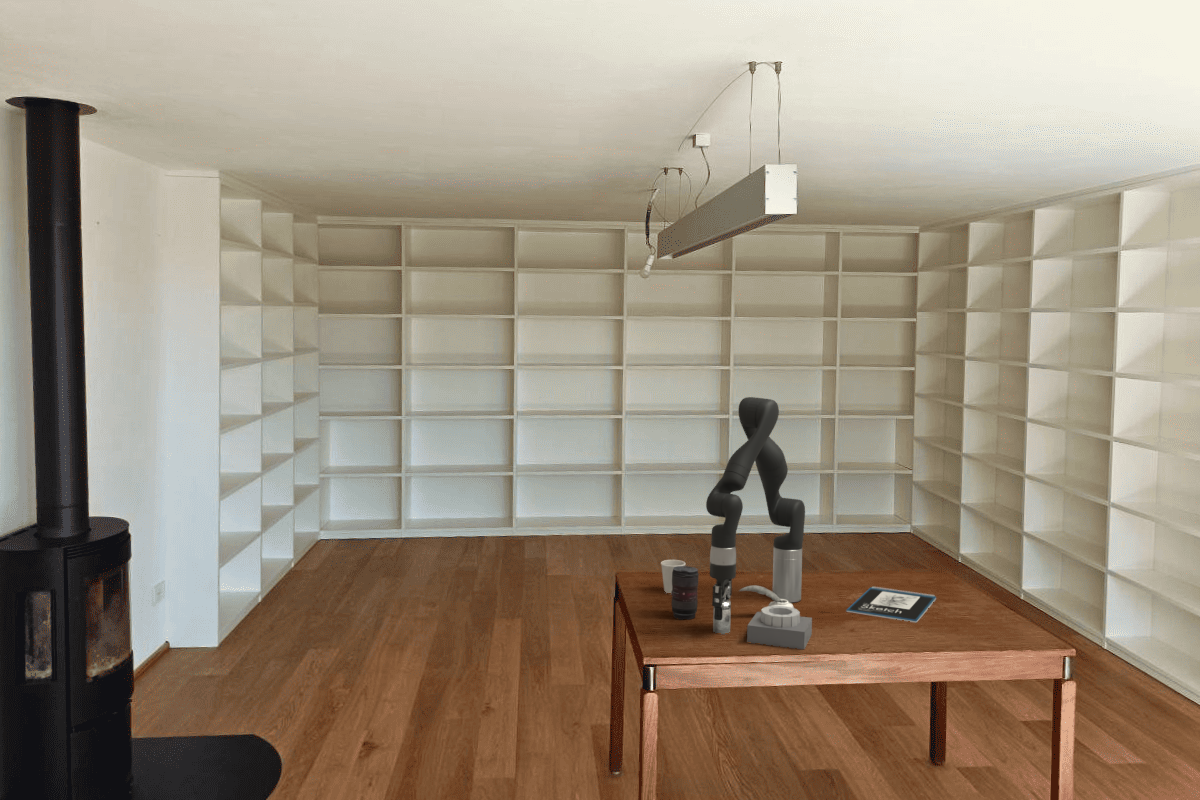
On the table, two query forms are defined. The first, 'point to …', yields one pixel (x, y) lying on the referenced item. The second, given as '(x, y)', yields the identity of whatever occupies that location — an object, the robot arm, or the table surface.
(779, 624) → the grey socket base
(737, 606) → the table surface
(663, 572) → the dixie cup
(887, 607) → the sketchbook
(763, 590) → the inkwell
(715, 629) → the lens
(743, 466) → the robot arm
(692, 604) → the camera lens
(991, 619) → the table surface
